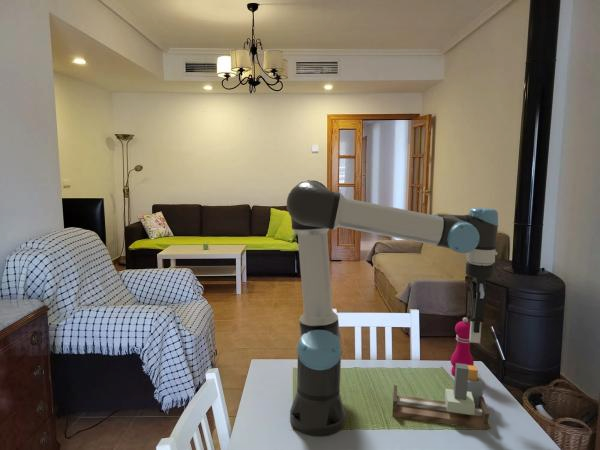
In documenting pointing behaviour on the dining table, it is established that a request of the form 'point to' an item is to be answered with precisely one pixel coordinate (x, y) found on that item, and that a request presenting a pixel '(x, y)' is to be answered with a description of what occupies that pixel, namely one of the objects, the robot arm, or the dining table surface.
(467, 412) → the carriage
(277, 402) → the dining table surface
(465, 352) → the pepper mill
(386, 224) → the robot arm
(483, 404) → the rail board
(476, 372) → the button
